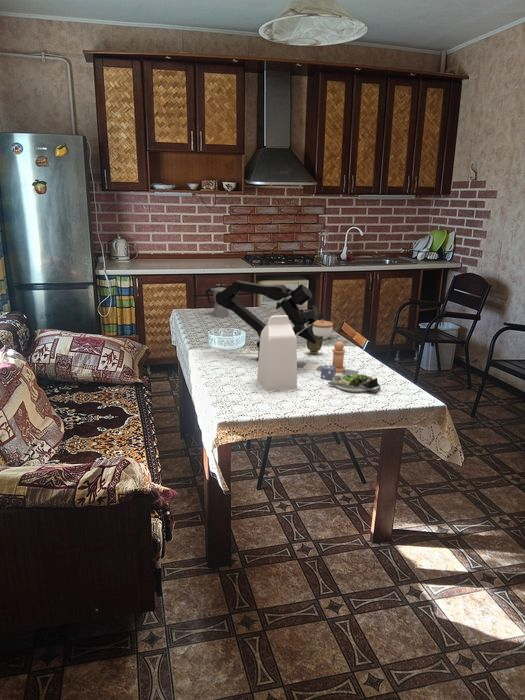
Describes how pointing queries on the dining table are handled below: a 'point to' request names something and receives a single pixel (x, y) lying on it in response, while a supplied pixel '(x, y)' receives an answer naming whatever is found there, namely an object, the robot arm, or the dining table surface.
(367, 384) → the salad plate
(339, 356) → the pawn
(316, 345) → the cup
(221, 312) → the coffeepot
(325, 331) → the lidded jar
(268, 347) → the milk
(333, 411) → the dining table surface
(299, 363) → the board
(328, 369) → the die
